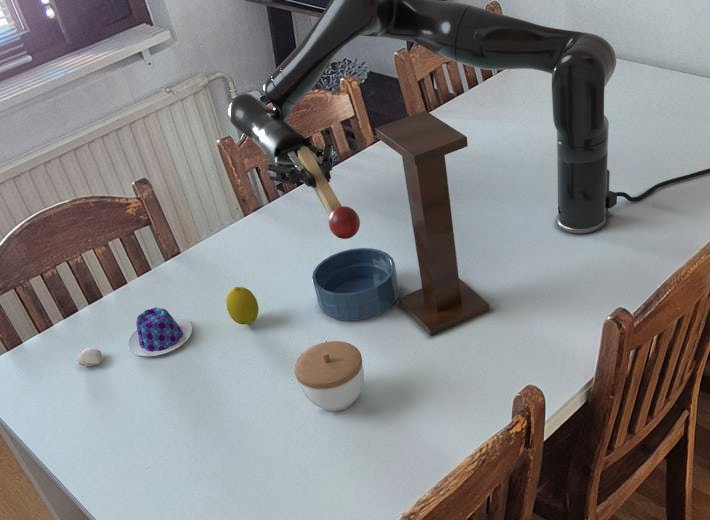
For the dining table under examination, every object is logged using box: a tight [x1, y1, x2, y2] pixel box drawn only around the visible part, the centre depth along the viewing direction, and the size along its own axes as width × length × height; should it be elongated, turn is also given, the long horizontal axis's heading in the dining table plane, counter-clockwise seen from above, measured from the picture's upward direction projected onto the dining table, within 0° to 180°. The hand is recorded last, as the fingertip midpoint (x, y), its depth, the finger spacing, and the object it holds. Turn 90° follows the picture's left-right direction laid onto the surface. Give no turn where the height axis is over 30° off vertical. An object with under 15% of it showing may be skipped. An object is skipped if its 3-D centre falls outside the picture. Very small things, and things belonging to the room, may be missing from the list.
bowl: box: [311, 247, 400, 321], centre depth 150 cm, size 15×15×6 cm
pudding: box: [127, 307, 193, 357], centre depth 149 cm, size 12×12×5 cm
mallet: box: [298, 147, 361, 240], centre depth 142 cm, size 19×5×5 cm
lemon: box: [225, 286, 259, 326], centre depth 148 cm, size 6×6×8 cm
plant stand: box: [375, 110, 490, 337], centre depth 135 cm, size 13×12×32 cm
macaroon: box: [76, 347, 103, 367], centre depth 147 cm, size 4×5×2 cm
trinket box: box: [293, 340, 365, 412], centre depth 129 cm, size 11×11×9 cm
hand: (320, 179), depth 142 cm, fingers closed on mallet
